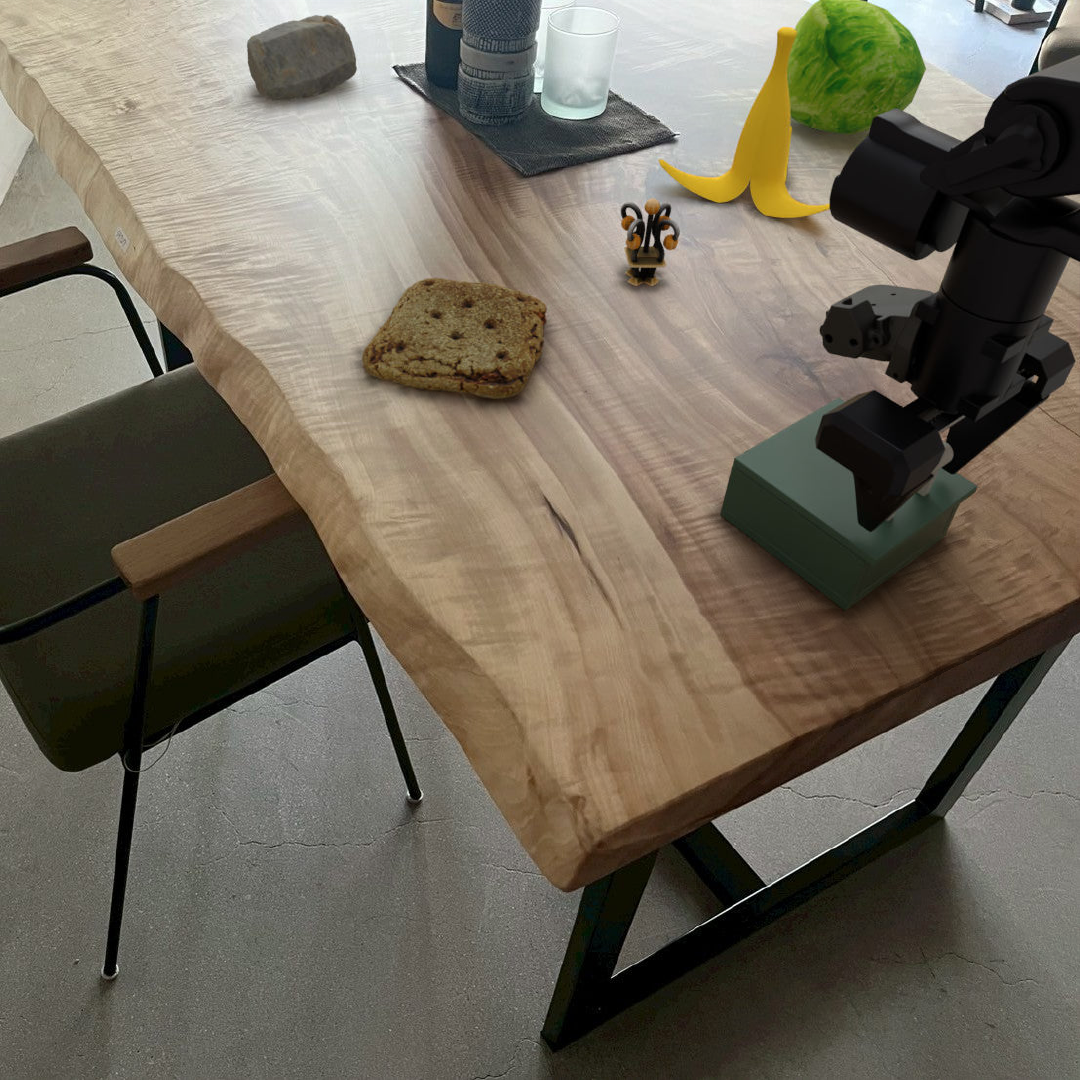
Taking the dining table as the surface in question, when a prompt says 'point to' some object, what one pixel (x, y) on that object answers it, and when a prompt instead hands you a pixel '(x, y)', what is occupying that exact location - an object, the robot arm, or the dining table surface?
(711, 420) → the dining table surface
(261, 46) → the stone
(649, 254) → the figurine
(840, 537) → the lid
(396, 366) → the pastry
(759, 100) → the banana peel
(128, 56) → the dining table surface
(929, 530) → the chest
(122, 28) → the dining table surface
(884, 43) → the lettuce
